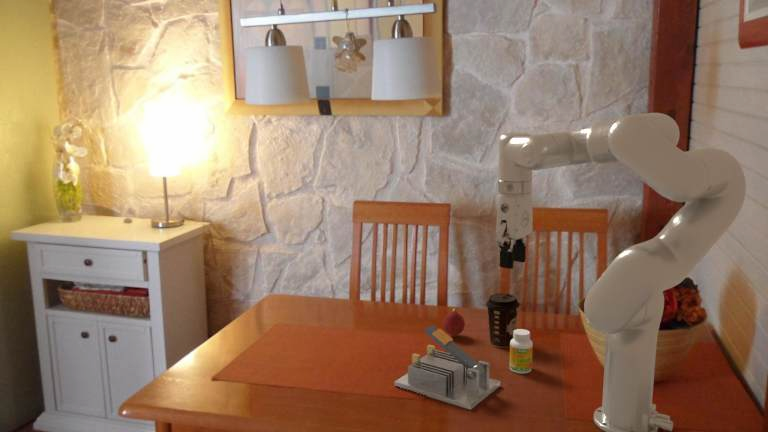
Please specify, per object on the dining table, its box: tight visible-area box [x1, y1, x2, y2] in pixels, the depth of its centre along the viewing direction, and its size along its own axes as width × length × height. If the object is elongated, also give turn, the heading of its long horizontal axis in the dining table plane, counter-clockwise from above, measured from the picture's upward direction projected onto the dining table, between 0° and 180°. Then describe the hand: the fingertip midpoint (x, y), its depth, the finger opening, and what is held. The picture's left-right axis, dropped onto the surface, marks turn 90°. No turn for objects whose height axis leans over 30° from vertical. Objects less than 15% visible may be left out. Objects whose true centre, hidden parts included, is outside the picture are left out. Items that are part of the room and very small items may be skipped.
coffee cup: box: [485, 293, 521, 349], centre depth 182 cm, size 9×8×13 cm
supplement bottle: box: [509, 328, 534, 375], centre depth 167 cm, size 5×5×10 cm
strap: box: [423, 324, 486, 376], centre depth 157 cm, size 16×3×2 cm, turn 55°
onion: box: [442, 308, 466, 338], centre depth 188 cm, size 6×6×8 cm
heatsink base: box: [394, 344, 501, 411], centre depth 159 cm, size 20×14×7 cm
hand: (512, 263), depth 160 cm, fingers open, 5 cm apart
